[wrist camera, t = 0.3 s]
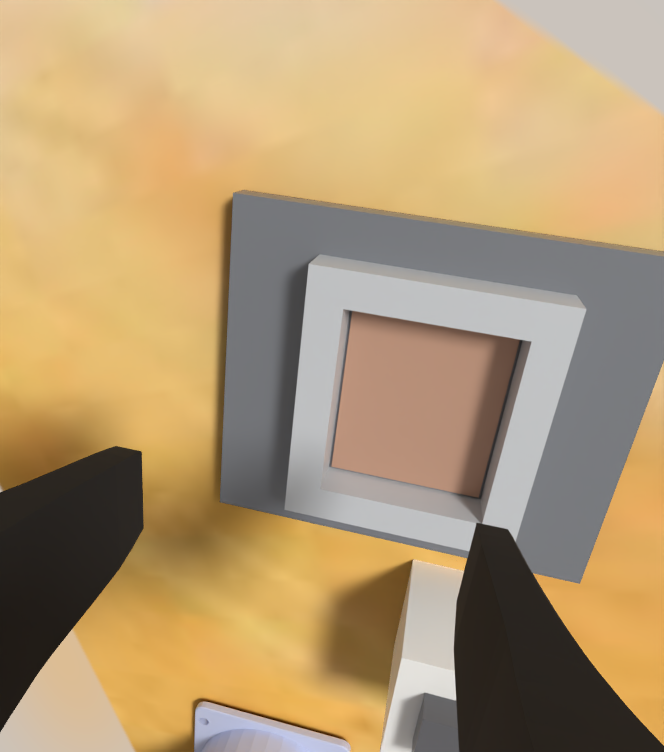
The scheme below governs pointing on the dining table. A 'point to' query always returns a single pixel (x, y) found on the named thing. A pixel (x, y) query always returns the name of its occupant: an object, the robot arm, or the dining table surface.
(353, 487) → the socket dock
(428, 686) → the plug
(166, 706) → the dining table surface
